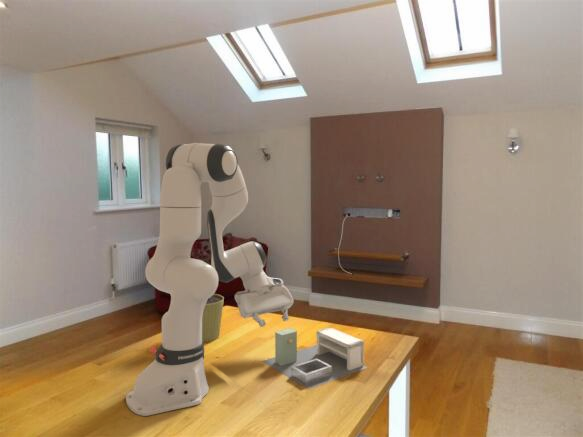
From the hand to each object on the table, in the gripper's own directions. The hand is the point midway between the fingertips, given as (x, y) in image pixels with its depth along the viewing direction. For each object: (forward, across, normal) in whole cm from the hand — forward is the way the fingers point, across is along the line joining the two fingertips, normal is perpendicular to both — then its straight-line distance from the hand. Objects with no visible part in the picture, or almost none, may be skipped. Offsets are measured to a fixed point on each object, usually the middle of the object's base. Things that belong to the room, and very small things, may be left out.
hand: (275, 322), depth 153 cm
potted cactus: (-14, -10, +32) cm, 37 cm away
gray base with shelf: (+18, +6, -1) cm, 19 cm away
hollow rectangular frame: (+22, 0, -6) cm, 22 cm away
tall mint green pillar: (+12, 0, +4) cm, 13 cm away
